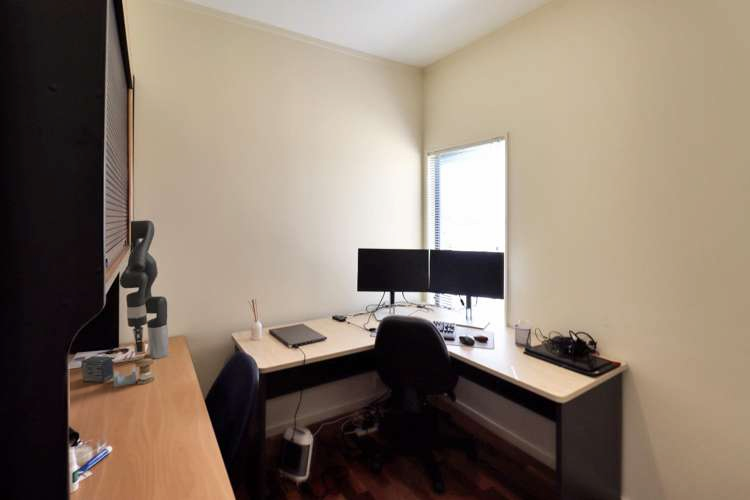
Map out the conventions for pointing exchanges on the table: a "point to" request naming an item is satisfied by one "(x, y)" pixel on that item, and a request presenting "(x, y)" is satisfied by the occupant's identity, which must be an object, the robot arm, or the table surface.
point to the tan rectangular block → (142, 348)
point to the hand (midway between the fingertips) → (139, 350)
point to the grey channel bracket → (124, 378)
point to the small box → (97, 369)
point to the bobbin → (144, 371)
